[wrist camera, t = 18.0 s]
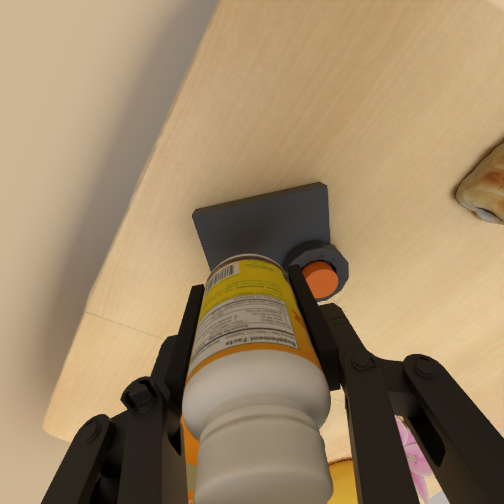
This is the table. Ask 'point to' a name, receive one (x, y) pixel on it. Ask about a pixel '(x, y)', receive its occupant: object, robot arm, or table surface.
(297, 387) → the supplement bottle
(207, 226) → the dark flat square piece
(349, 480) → the teapot
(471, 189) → the pastry
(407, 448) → the lily
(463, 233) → the table surface
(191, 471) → the orange juice
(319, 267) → the button
